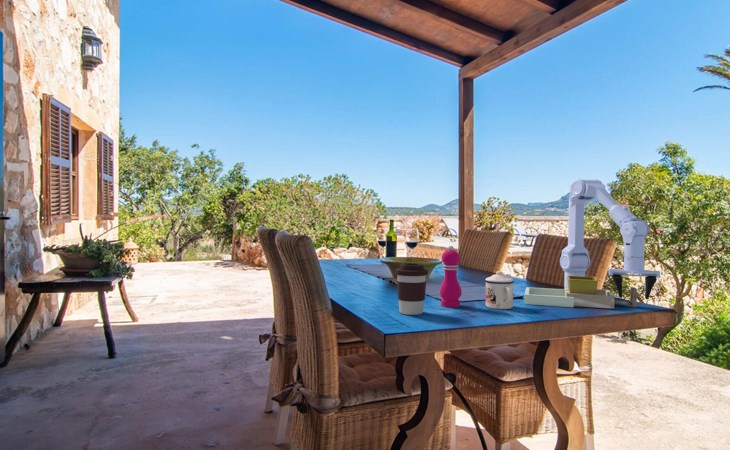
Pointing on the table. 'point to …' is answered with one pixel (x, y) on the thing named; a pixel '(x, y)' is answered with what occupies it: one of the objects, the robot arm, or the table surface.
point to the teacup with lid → (499, 291)
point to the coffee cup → (411, 288)
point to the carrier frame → (601, 299)
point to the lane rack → (547, 297)
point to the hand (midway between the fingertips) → (633, 298)
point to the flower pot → (582, 284)
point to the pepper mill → (450, 279)
